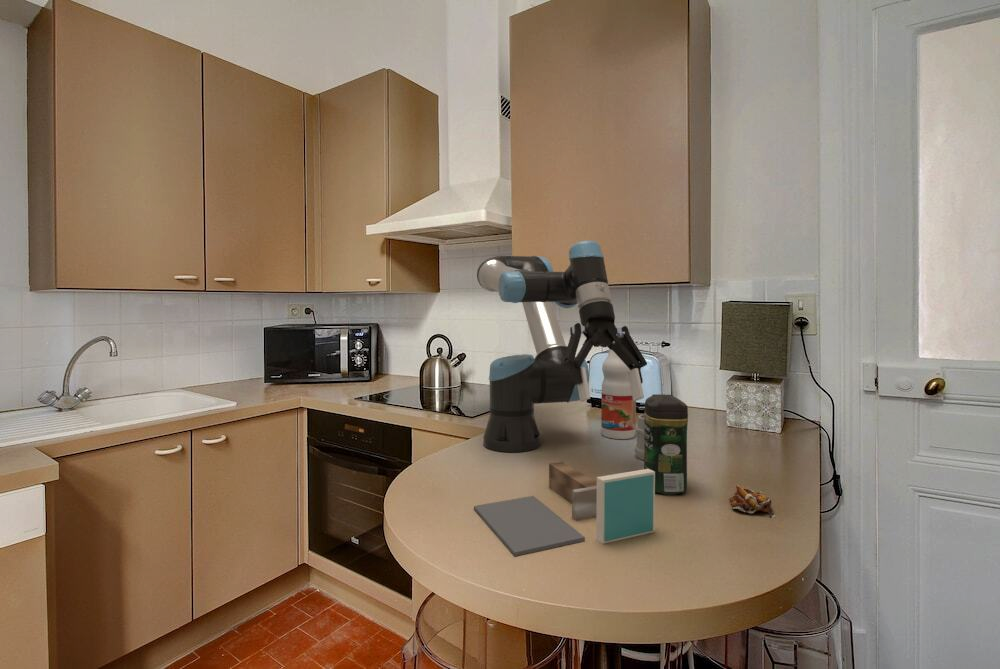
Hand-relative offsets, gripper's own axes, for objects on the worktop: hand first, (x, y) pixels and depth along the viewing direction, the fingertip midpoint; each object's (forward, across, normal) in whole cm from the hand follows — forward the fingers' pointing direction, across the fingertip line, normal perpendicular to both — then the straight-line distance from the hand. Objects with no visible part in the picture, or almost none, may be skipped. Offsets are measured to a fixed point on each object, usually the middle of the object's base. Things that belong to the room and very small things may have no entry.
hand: (612, 399), depth 102 cm
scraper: (+19, -12, +2) cm, 22 cm away
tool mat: (+22, -25, -3) cm, 33 cm away
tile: (+25, -12, -12) cm, 30 cm away
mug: (+12, +18, +13) cm, 25 cm away
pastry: (+23, +17, -12) cm, 31 cm away
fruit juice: (+3, +24, +32) cm, 40 cm away
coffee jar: (+18, +8, 0) cm, 20 cm away
